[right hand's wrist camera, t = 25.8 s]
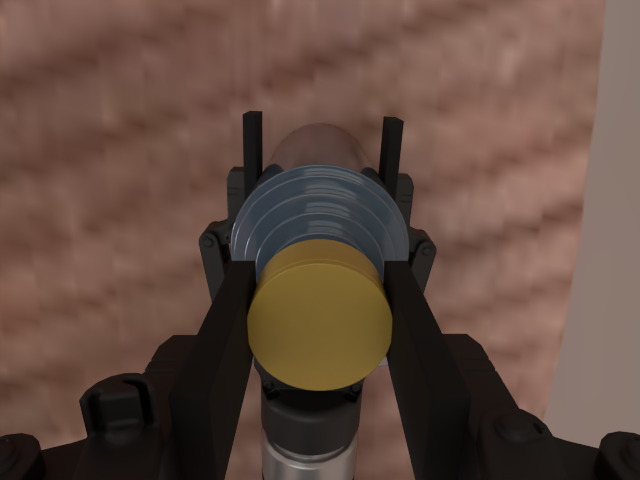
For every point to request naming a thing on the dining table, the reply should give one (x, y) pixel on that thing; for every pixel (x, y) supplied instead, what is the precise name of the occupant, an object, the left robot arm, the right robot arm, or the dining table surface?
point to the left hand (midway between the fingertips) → (323, 116)
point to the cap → (319, 316)
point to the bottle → (319, 201)
